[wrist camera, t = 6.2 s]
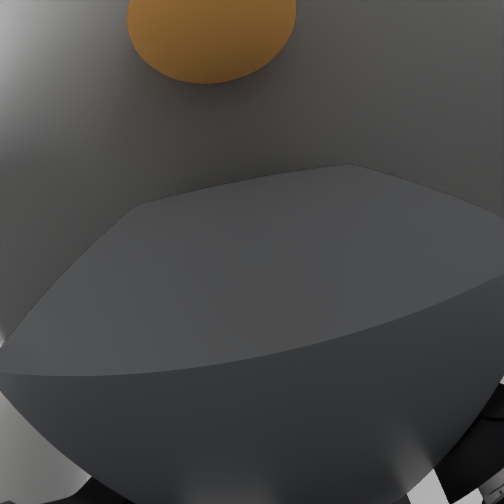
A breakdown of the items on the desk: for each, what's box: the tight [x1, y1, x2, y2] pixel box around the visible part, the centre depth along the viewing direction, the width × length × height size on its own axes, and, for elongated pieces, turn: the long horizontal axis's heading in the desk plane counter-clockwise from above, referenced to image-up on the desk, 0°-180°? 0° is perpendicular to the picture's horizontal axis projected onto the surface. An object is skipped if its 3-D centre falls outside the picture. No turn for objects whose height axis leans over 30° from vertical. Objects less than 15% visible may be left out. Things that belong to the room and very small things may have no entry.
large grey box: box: [0, 164, 504, 504], centre depth 8 cm, size 8×12×8 cm, turn 10°
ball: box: [127, 0, 296, 84], centre depth 6 cm, size 5×5×5 cm
